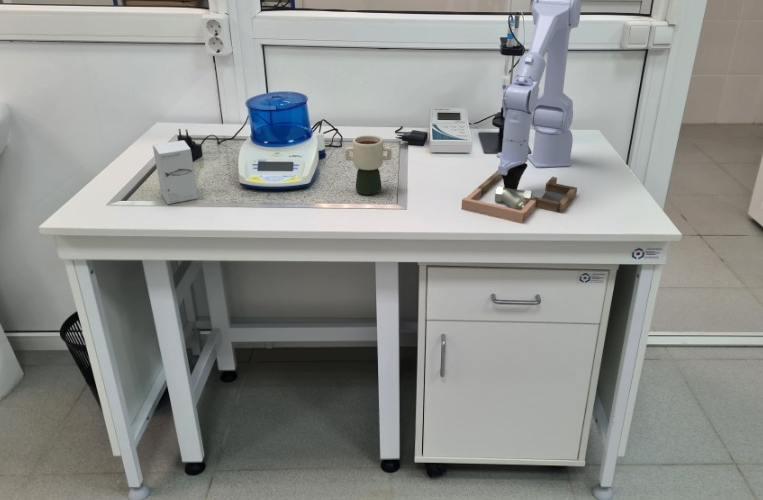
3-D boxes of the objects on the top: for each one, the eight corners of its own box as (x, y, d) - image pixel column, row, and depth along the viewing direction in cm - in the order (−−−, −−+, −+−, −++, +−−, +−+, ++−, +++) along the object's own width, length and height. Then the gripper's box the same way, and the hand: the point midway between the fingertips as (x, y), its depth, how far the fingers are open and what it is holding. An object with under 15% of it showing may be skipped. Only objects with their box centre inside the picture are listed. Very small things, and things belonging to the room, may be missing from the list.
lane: (501, 174, 163) (501, 166, 162) (580, 189, 154) (581, 182, 153) (476, 195, 151) (476, 188, 150) (560, 214, 142) (562, 206, 141)
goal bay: (476, 195, 151) (477, 186, 150) (534, 208, 144) (536, 199, 143) (461, 209, 144) (462, 199, 143) (522, 223, 138) (523, 213, 137)
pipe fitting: (526, 216, 143) (531, 202, 148) (528, 201, 140) (532, 187, 146) (491, 211, 145) (497, 198, 150) (492, 196, 143) (498, 183, 148)
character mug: (390, 185, 157) (391, 134, 150) (391, 197, 150) (391, 144, 144) (346, 185, 157) (345, 134, 150) (345, 197, 150) (343, 145, 144)
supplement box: (167, 205, 147) (157, 153, 141) (161, 194, 152) (151, 143, 146) (199, 199, 150) (191, 148, 144) (191, 188, 155) (184, 138, 149)
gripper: (510, 126, 150) (505, 179, 157) (487, 144, 139) (482, 200, 146) (539, 131, 147) (532, 185, 154) (517, 149, 136) (511, 207, 143)
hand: (510, 193), depth 150 cm, fingers closed
